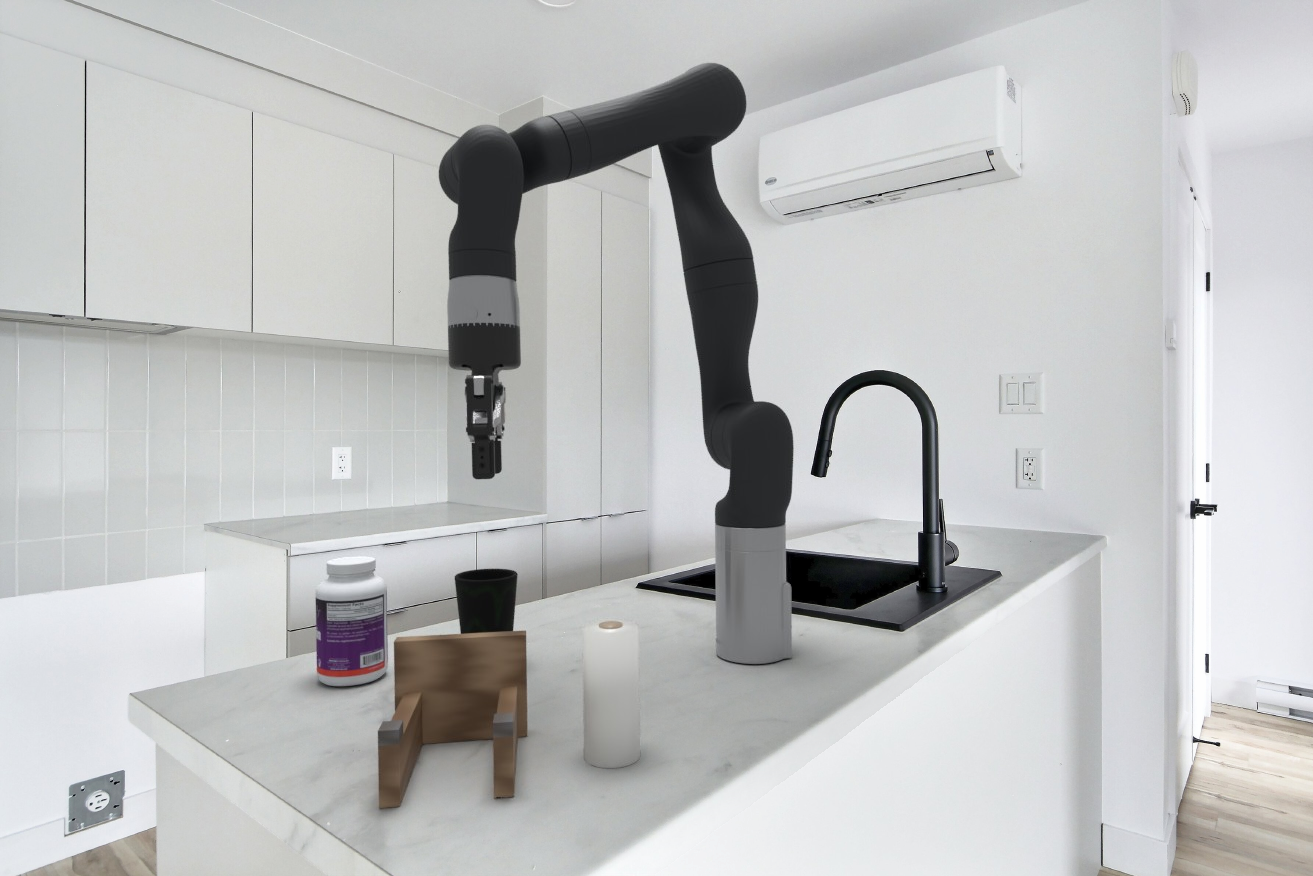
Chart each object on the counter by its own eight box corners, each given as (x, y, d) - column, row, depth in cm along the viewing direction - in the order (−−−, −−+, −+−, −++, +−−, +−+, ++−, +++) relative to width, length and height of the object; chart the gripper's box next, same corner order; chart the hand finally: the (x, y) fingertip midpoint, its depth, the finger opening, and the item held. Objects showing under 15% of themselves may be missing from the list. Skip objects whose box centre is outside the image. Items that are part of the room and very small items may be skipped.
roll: (636, 741, 72) (635, 615, 72) (644, 765, 67) (642, 630, 67) (582, 745, 72) (580, 618, 71) (585, 770, 66) (583, 633, 66)
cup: (504, 682, 90) (502, 581, 89) (444, 678, 91) (443, 579, 91) (527, 662, 97) (526, 569, 97) (472, 659, 99) (471, 567, 98)
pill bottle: (330, 668, 95) (328, 555, 95) (395, 666, 96) (393, 553, 96) (306, 691, 87) (303, 567, 87) (377, 688, 88) (375, 565, 88)
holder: (527, 729, 75) (526, 630, 75) (525, 795, 62) (523, 675, 62) (398, 739, 73) (396, 637, 73) (367, 809, 60) (365, 684, 60)
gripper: (515, 314, 74) (519, 480, 74) (523, 332, 88) (526, 471, 88) (436, 315, 73) (441, 482, 73) (457, 332, 87) (461, 472, 87)
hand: (488, 476), depth 81 cm, fingers open, 8 cm apart
